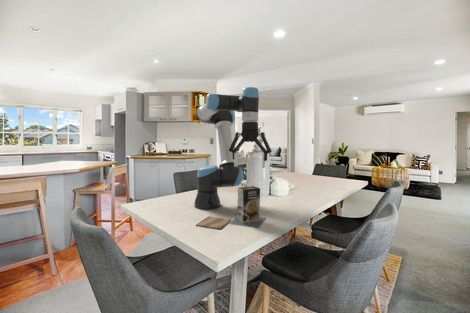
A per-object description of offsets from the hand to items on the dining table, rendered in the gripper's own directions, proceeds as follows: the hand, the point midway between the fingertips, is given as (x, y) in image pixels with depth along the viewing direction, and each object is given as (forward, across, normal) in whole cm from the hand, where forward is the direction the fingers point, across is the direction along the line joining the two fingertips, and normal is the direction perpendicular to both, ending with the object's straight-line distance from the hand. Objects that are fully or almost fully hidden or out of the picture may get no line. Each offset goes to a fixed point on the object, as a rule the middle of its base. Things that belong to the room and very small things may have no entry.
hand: (249, 167), depth 110 cm
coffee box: (+26, 0, 0) cm, 26 cm away
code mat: (+26, 0, 0) cm, 26 cm away
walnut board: (+26, -14, -9) cm, 31 cm away
